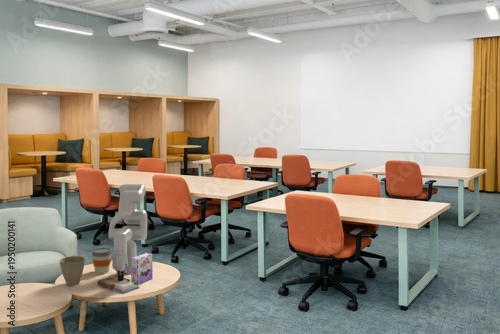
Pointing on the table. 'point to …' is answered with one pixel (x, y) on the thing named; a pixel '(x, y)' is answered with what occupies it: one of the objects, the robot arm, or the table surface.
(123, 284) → the tile
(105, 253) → the reusable coffee cup
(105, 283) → the brown flat square block
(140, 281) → the candy box
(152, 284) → the table surface
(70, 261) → the plant pot
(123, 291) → the mat
